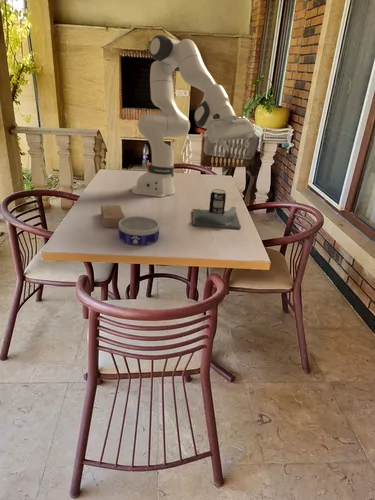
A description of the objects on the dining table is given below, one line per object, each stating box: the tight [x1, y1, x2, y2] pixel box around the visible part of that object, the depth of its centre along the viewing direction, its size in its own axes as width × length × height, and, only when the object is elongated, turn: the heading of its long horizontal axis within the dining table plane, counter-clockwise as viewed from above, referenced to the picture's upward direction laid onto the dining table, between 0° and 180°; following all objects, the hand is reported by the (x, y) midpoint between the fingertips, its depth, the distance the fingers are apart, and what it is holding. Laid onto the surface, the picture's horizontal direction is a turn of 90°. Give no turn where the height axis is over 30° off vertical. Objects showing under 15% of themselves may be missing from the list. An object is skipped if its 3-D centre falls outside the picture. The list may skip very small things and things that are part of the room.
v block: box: [192, 206, 242, 230], centre depth 166 cm, size 18×20×5 cm
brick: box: [100, 204, 126, 228], centre depth 157 cm, size 17×8×5 cm, turn 17°
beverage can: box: [208, 188, 227, 214], centre depth 164 cm, size 7×7×12 cm
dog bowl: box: [118, 215, 161, 247], centre depth 143 cm, size 15×15×6 cm
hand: (237, 148), depth 153 cm, fingers open, 8 cm apart
